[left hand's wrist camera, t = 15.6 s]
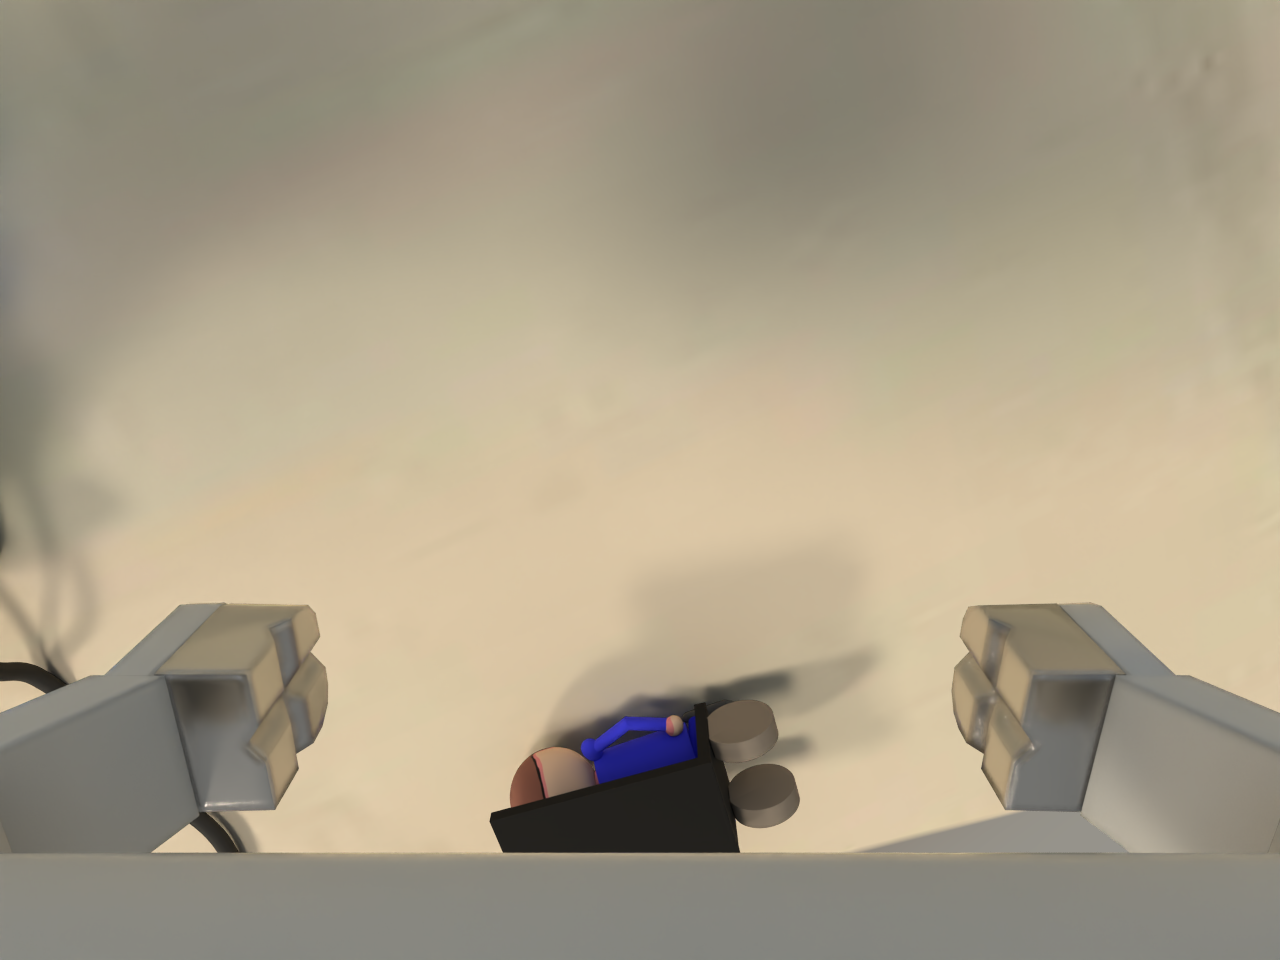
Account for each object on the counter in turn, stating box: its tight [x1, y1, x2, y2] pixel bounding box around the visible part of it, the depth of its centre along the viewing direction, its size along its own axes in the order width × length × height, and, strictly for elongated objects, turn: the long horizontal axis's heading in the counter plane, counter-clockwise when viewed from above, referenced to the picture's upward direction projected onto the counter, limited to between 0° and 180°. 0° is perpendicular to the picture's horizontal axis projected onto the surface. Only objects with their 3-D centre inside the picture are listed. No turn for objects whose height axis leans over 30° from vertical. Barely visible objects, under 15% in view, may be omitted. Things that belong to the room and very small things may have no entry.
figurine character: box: [490, 700, 800, 853], centre depth 42 cm, size 7×8×15 cm
